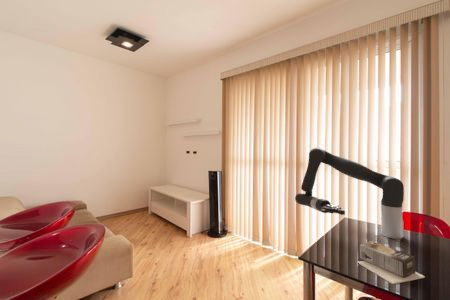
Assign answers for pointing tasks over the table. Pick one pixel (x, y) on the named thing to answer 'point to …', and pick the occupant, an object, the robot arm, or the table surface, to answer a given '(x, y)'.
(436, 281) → the table surface
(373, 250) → the coffee box
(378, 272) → the mat
